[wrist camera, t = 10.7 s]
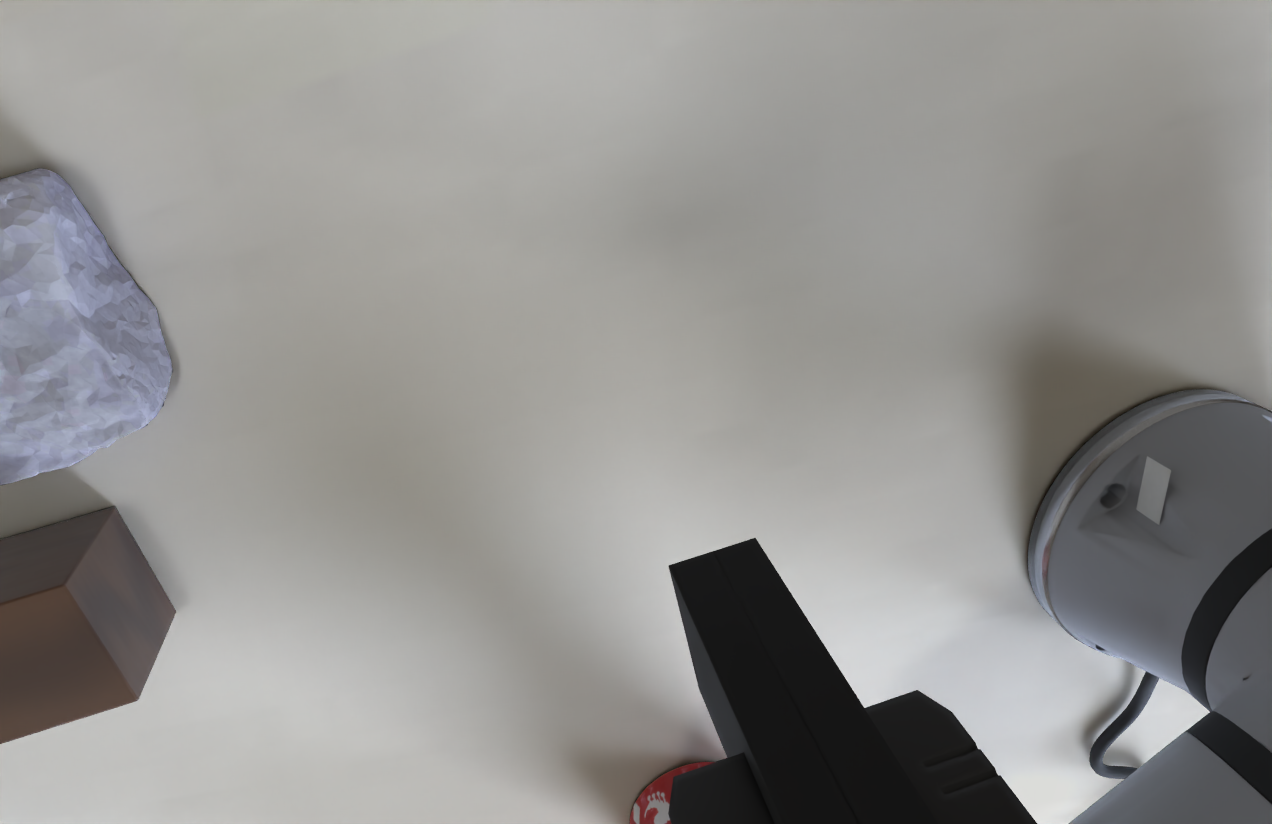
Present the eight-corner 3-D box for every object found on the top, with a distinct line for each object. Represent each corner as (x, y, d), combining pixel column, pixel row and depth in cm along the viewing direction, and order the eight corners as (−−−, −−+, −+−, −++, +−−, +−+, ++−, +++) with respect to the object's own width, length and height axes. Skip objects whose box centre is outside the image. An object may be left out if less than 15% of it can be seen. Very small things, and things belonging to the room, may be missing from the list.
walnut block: (177, 611, 37) (138, 701, 32) (45, 651, 36) (-15, 749, 31) (115, 505, 34) (63, 584, 29) (-28, 546, 34) (-105, 635, 29)
